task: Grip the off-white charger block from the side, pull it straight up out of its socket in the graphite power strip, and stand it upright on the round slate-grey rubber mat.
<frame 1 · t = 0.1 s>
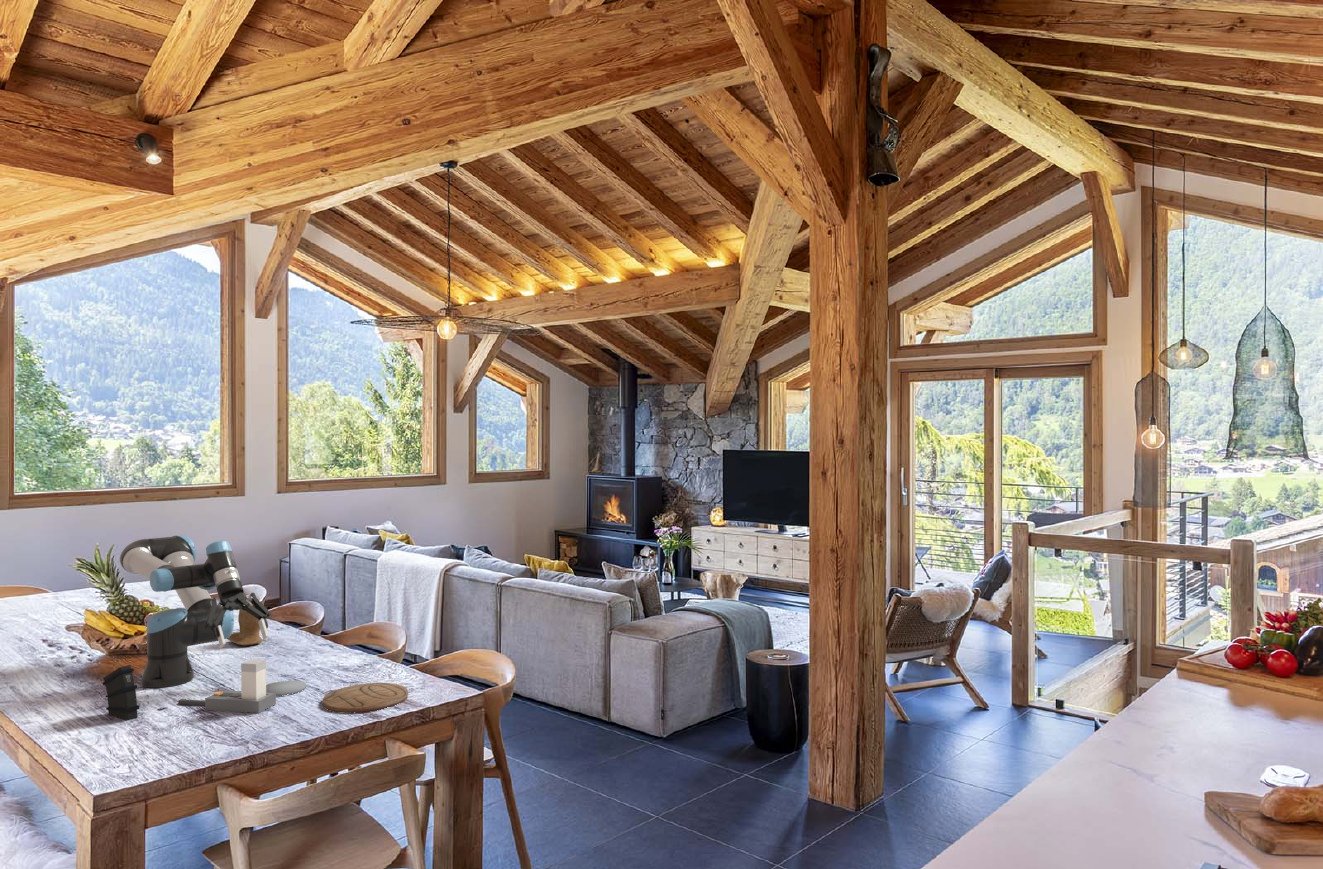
hand: (244, 641, 277), 15 cm above the table, tool tilted 35°, fingers open, 13 cm apart
power strip: (240, 707, 258), on the table
trivet: (365, 701, 264), on the table
mat: (282, 690, 274), on the table
magazine: (120, 716, 251), on the table
charger: (254, 701, 257), point 2 cm above the table, touching power strip
brown boot: (248, 643, 337), on the table
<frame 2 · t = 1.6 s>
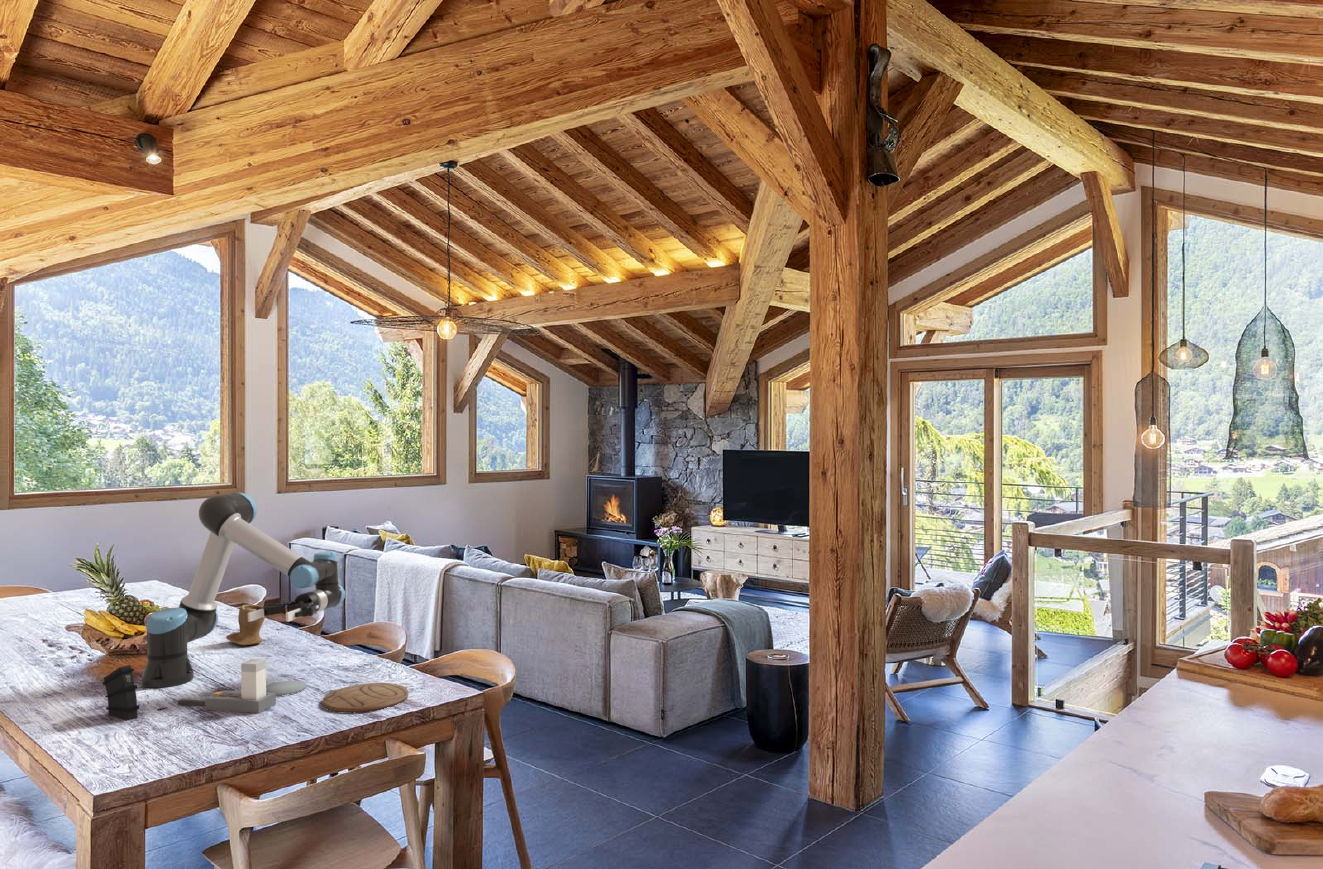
hand: (267, 617, 265), 25 cm above the table, tool horizontal, fingers open, 13 cm apart
nothing on the table moved.
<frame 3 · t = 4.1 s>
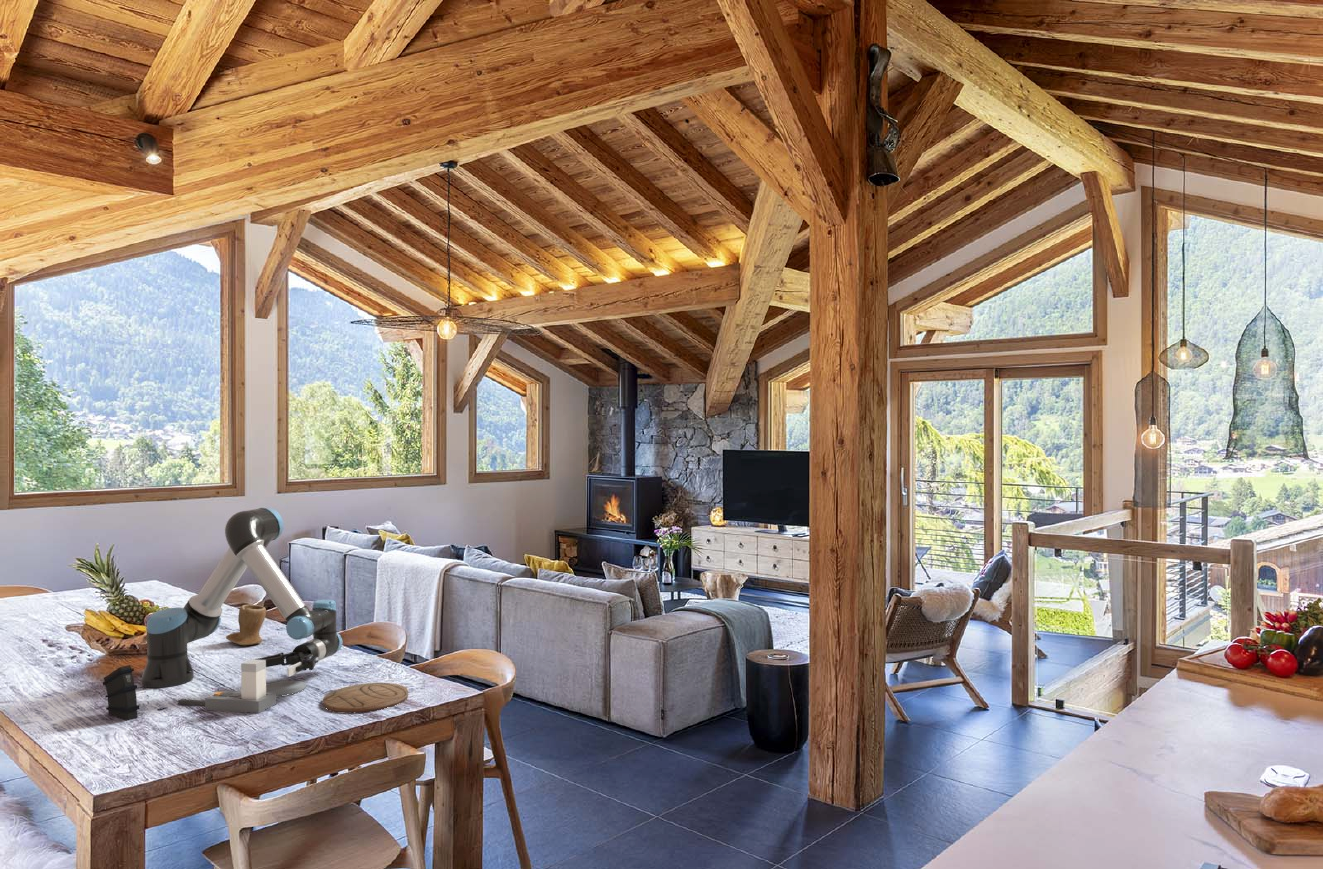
hand: (268, 671, 262), 9 cm above the table, tool horizontal, fingers open, 13 cm apart
nothing on the table moved.
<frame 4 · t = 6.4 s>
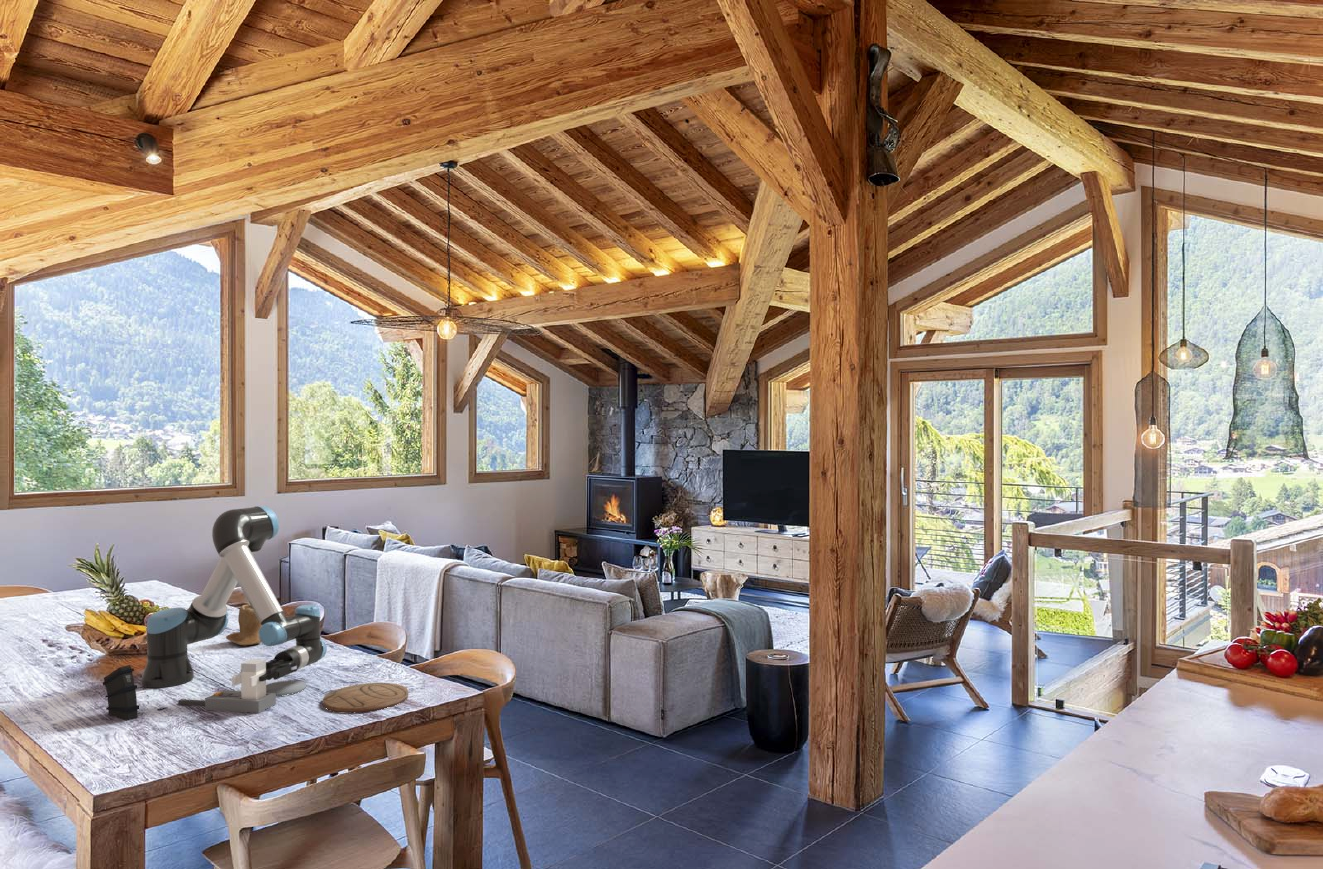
hand: (242, 681, 252), 9 cm above the table, tool horizontal, fingers closed on charger, 5 cm apart
charger: (254, 701, 257), point 2 cm above the table, touching gripper, power strip
everything else where it was.
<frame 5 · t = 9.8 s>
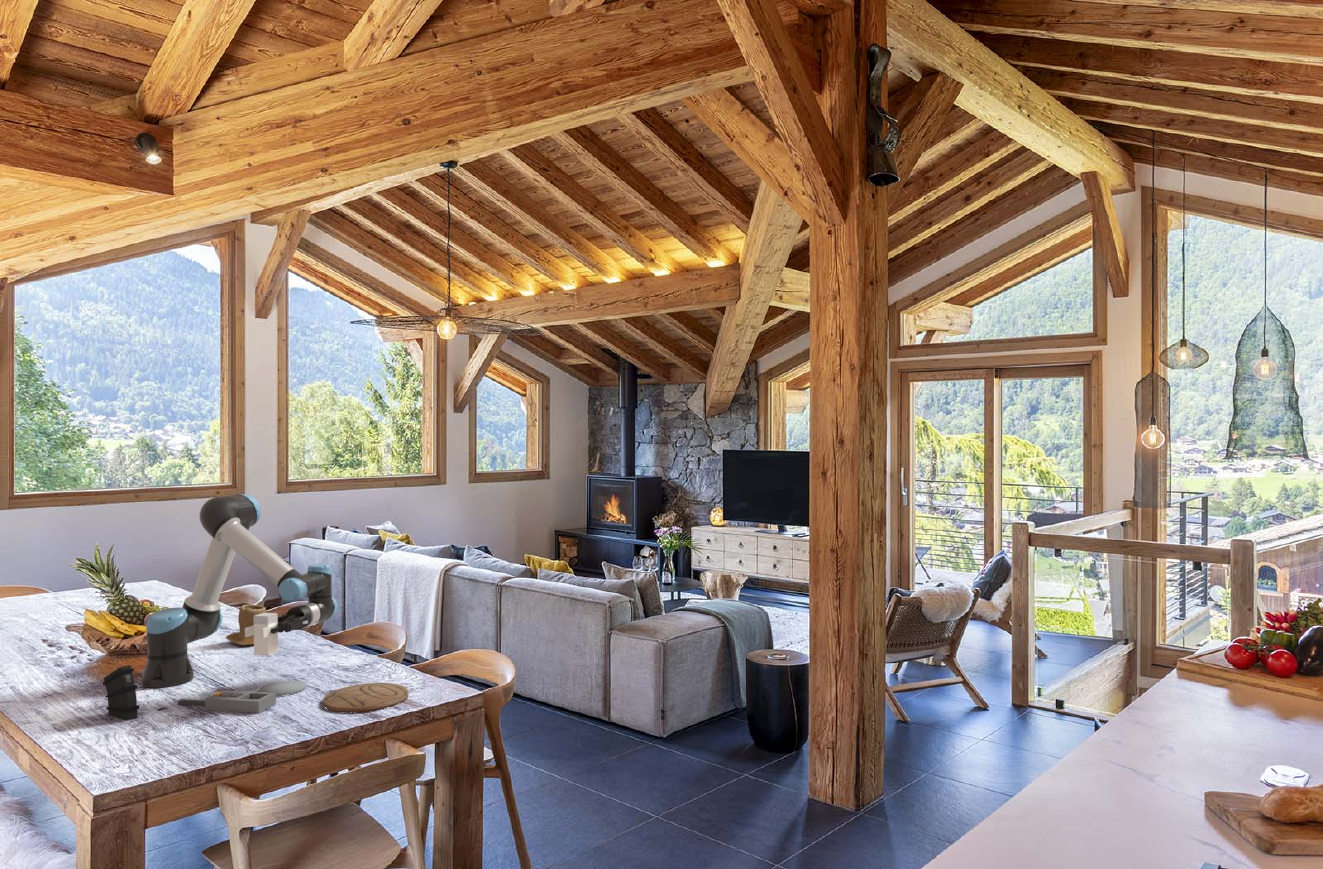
hand: (254, 633, 259), 22 cm above the table, tool horizontal, fingers closed on charger, 5 cm apart
charger: (266, 653, 264), point 15 cm above the table, touching gripper
everything else where it was.
when the fingers open (9 cm above the table, at t = 13.0 s): charger stays where it is, resting on mat.
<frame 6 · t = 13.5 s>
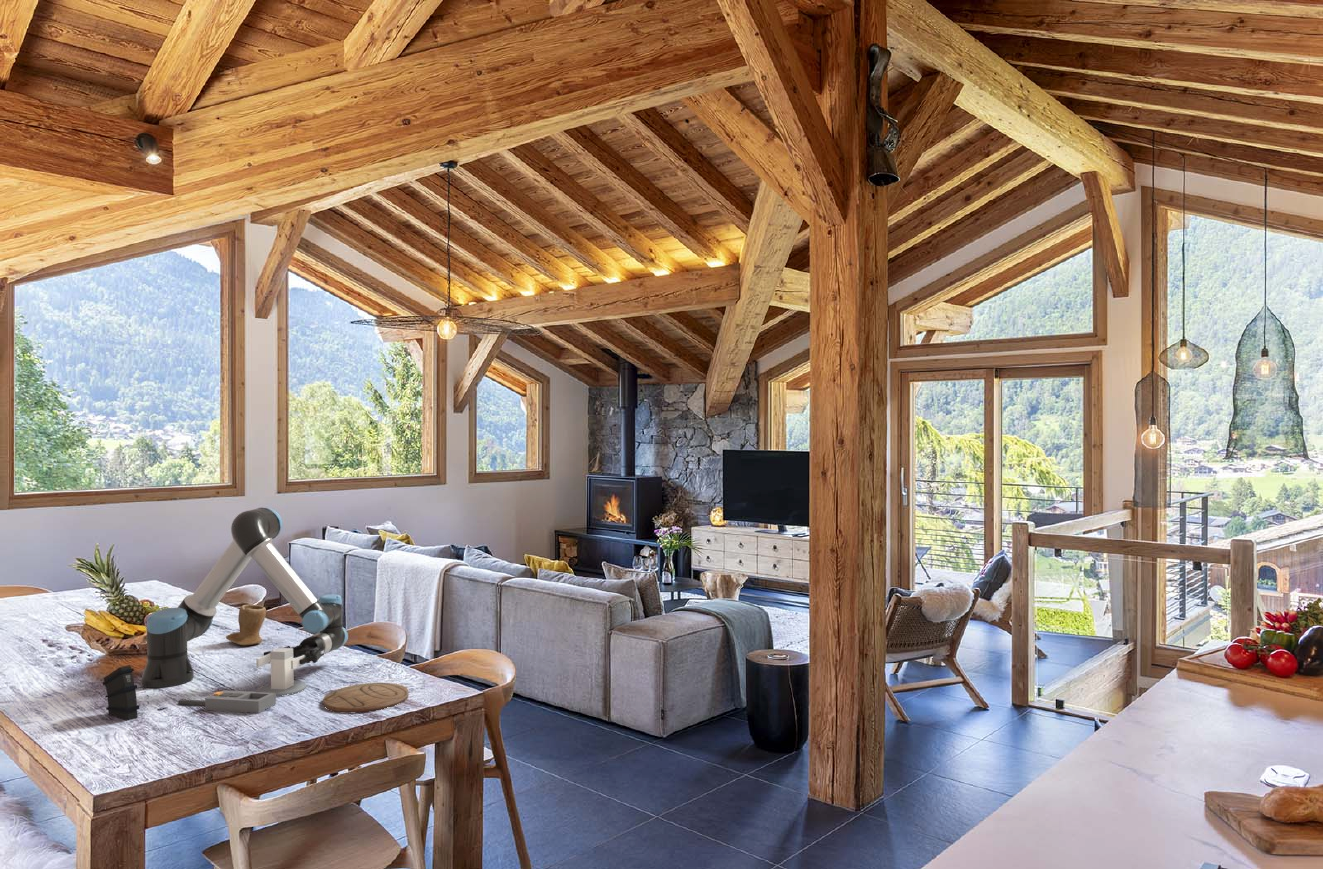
hand: (274, 663, 271), 9 cm above the table, tool horizontal, fingers open, 11 cm apart
charger: (282, 686, 274), point 1 cm above the table, touching mat
everything else where it was.
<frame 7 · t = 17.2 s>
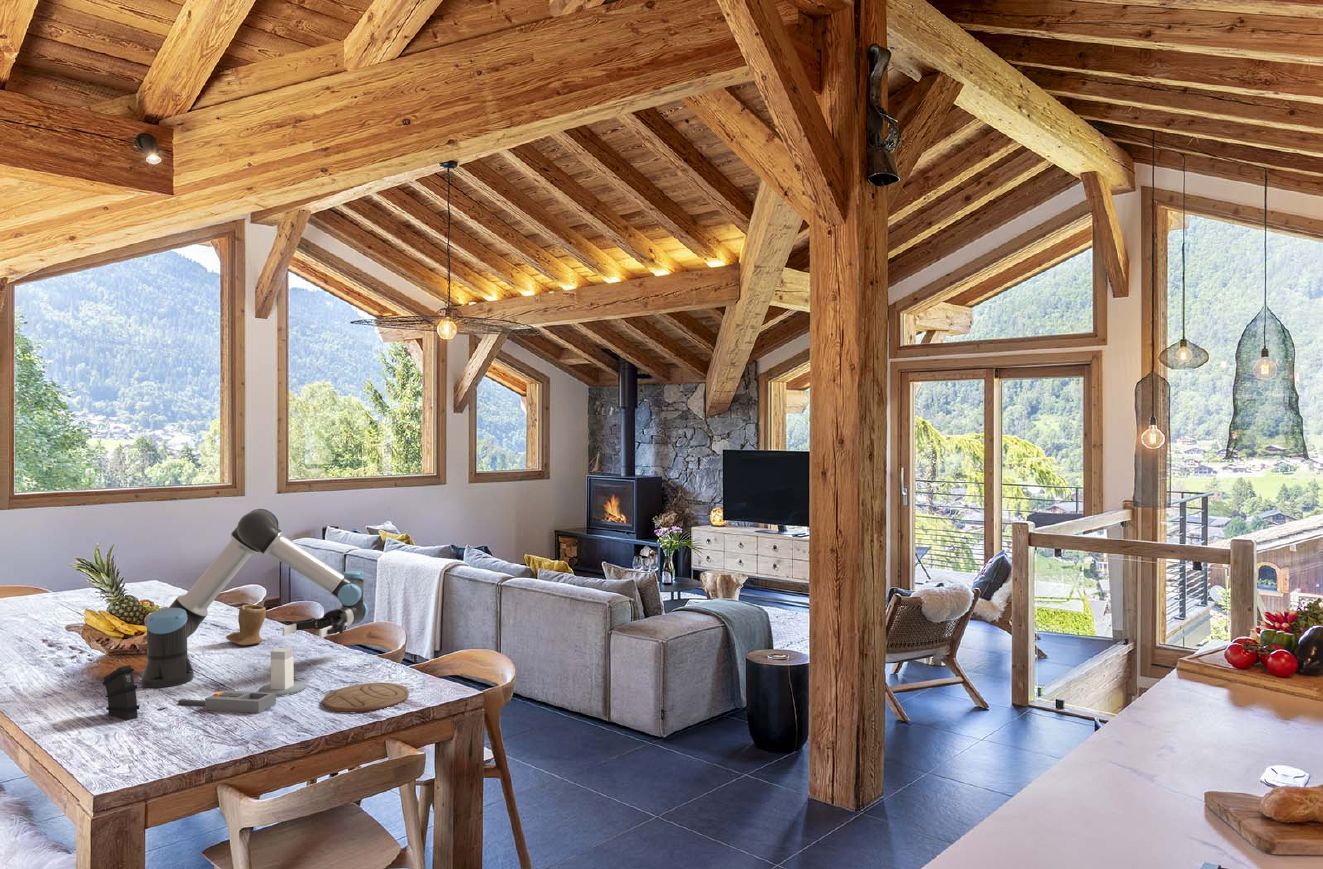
hand: (301, 632, 284), 16 cm above the table, tool horizontal, fingers open, 13 cm apart
nothing on the table moved.
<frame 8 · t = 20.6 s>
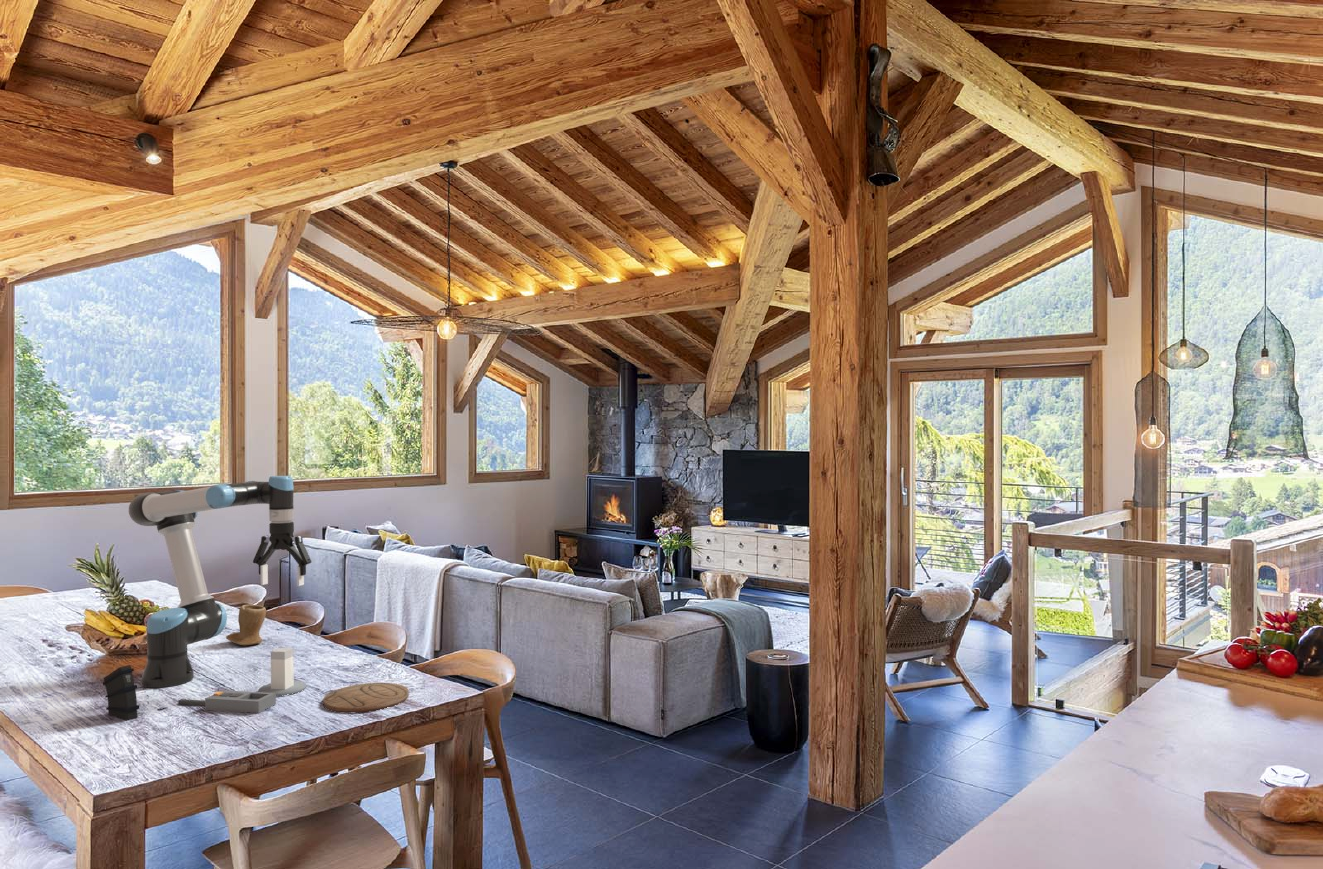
hand: (282, 584, 287), 32 cm above the table, tool pointing down, fingers open, 13 cm apart
nothing on the table moved.
at the end: charger inside the target area on the mat (0.0 cm from its centre), point 1.0 cm above the mat's base; charger tilted 0°; the gripper is holding nothing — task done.
